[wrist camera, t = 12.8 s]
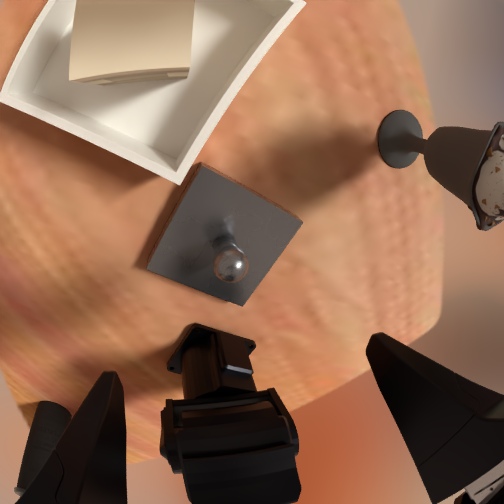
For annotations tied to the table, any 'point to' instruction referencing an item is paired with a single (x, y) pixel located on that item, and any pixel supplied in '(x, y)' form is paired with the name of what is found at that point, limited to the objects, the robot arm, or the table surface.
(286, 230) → the stud plate
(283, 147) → the table surface
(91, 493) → the robot arm
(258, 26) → the bin
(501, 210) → the sundae
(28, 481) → the drinking cup
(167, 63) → the socket block
